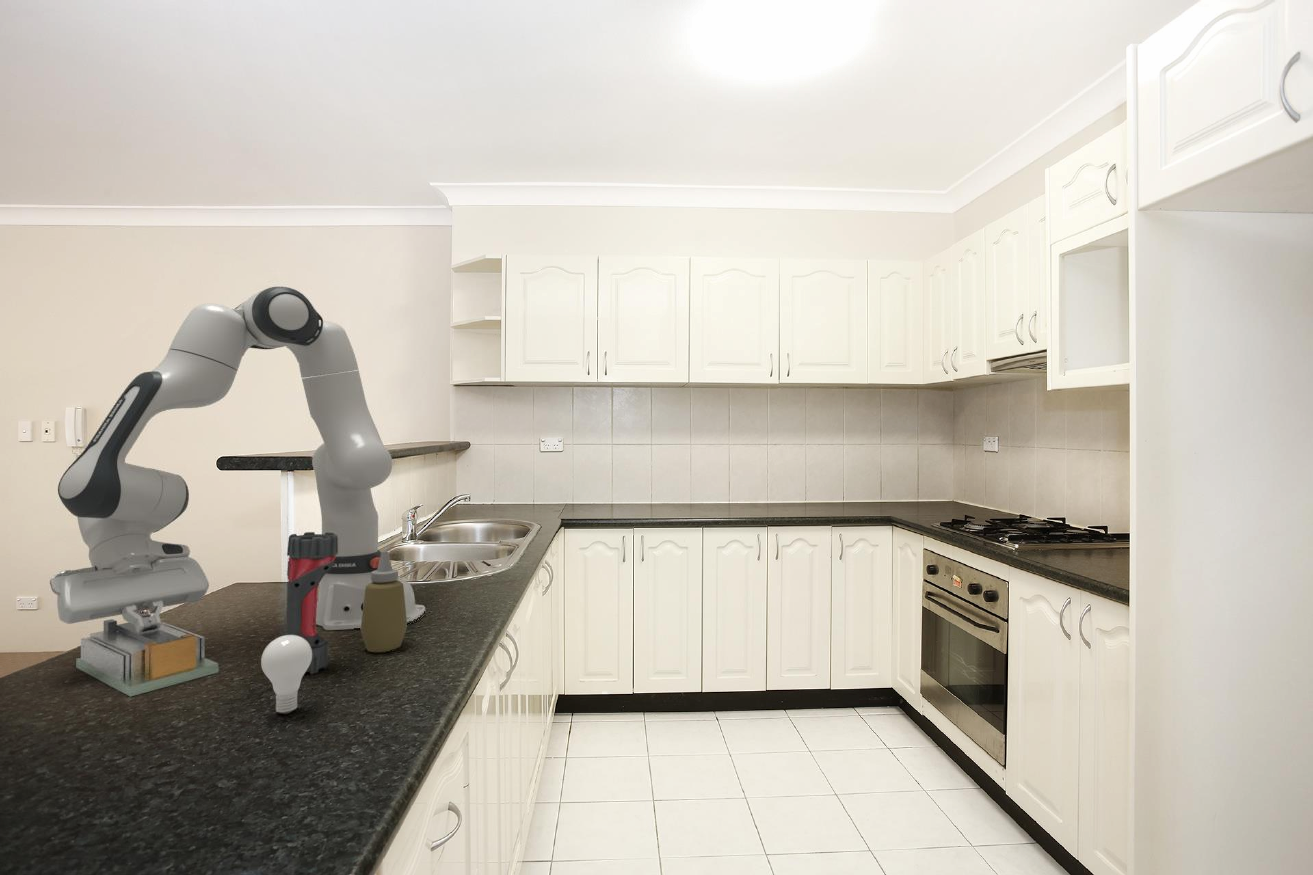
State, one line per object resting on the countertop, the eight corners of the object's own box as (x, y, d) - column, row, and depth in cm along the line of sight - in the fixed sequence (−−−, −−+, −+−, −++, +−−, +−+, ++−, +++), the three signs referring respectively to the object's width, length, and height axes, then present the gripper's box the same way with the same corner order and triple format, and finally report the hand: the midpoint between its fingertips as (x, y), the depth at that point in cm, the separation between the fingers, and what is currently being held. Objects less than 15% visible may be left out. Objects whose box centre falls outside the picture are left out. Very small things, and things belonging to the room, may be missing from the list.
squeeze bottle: (361, 658, 115) (362, 557, 115) (359, 644, 122) (359, 549, 122) (409, 651, 119) (410, 553, 119) (404, 639, 126) (405, 546, 126)
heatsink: (76, 667, 109) (76, 623, 109) (160, 648, 119) (160, 607, 119) (130, 696, 97) (130, 646, 97) (218, 672, 108) (218, 627, 108)
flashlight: (346, 664, 112) (348, 532, 112) (310, 680, 104) (311, 538, 104) (311, 659, 114) (312, 529, 114) (272, 674, 107) (274, 536, 107)
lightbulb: (288, 724, 89) (289, 644, 89) (249, 719, 90) (250, 640, 90) (321, 705, 95) (322, 630, 95) (284, 701, 96) (284, 627, 96)
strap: (115, 630, 112) (115, 624, 112) (136, 625, 114) (136, 620, 114) (160, 649, 102) (160, 643, 102) (181, 644, 105) (181, 638, 105)
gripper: (52, 561, 103) (73, 632, 97) (198, 544, 120) (223, 604, 115) (42, 585, 105) (62, 657, 100) (186, 565, 122) (210, 625, 117)
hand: (149, 628), depth 107 cm, fingers closed, pressing on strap
